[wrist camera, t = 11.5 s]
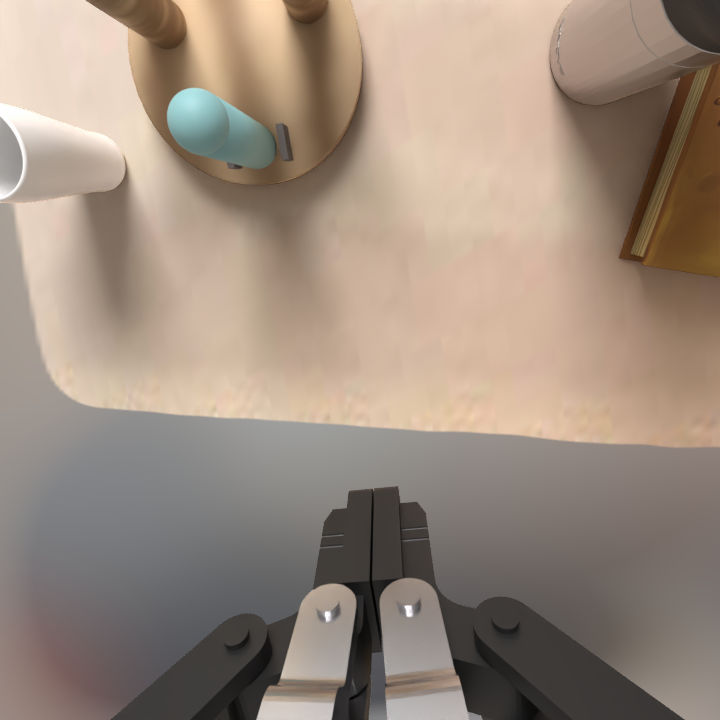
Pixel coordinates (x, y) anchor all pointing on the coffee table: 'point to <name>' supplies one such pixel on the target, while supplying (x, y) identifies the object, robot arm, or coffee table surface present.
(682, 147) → the diary
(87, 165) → the drinking glass
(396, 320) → the coffee table surface
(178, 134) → the teal capsule cylinder
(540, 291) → the coffee table surface
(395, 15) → the coffee table surface
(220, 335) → the coffee table surface
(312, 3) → the stool
